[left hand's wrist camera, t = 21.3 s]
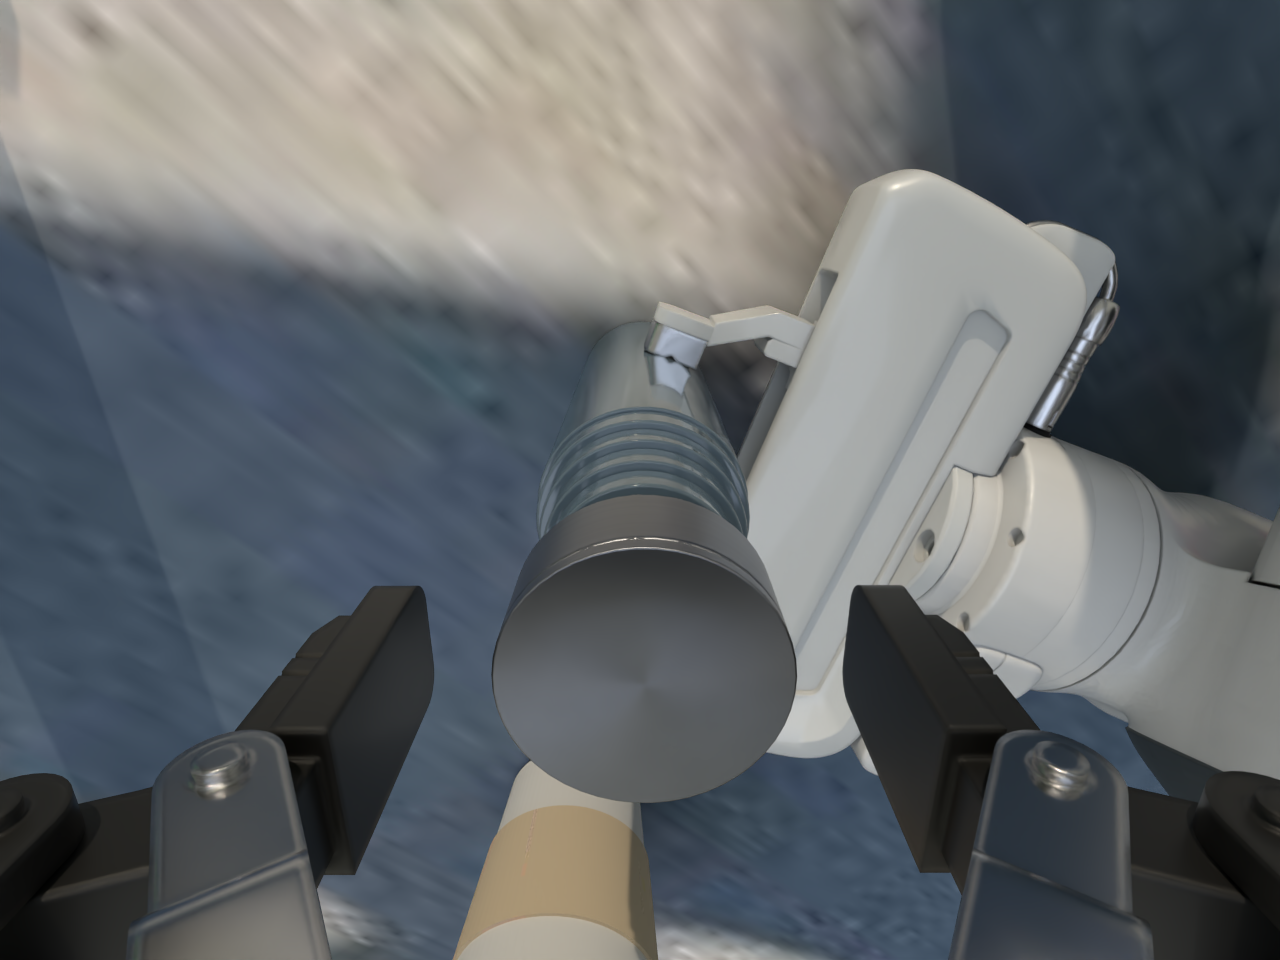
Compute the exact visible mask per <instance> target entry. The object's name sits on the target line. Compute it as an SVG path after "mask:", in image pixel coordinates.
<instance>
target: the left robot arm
mask: <svg viewBox="0 0 1280 960" xmlns="http://www.w3.org/2000/svg"><path fill="white" fill-rule="evenodd" d="M842 676H843V687H844V693H845V697H846V701H847V704H848V706H849V708H850V711H851V713H852V715H853V718H854V720H855V722H856V725H857V727H858V729H859V732H860V734H861V736H862V739H863V741H864V743H865V746H866V748H867V750H868V753H869V755H870V757H871V760H872V762H873V764H874V767H875V769H876V771H877V774H878V776H879V778H880V781H881V783H882V785H883V788H884V790H885V792H886V794H887V797H888V799H889V801H890V804H891V806H892V808H893V811H894V813H895V815H896V818H897V820H898V822H899V825H900V827H901V829H902V832H903V834H904V836H905V839H906V841H907V843H908V846H909V848H910V850H911V853H912V855H913V857H914V860H915V862H916V864H917V867H918V869H919V871H920V873H951V874H952V876H953V878H954V880H955V882H956V884H957V886H958V889H959V891H960V893H961V895H962V898H961V902H960V907H959V911H958V916H957V920H956V925H955V930H954V934H953V939H952V943H951V948H950V953H949V957H948V960H1280V780H1278V779H1275V778H1272V777H1269V776H1265V775H1261V774H1257V773H1251V772H1244V771H1225V772H1220V773H1217V774H1214V775H1213V776H1211V777H1210V778H1209V779H1208V780H1207V782H1206V784H1205V787H1204V790H1203V792H1202V795H1201V798H1200V801H1199V803H1198V802H1194V801H1189V800H1185V799H1180V798H1176V797H1171V796H1167V795H1162V794H1158V793H1153V792H1149V791H1145V790H1140V789H1136V788H1132V787H1128V786H1127V785H1126V783H1125V781H1124V779H1123V777H1122V776H1121V774H1120V773H1119V771H1118V770H1117V769H1116V768H1115V767H1114V766H1113V765H1112V764H1111V763H1110V762H1109V761H1108V760H1106V759H1105V758H1104V757H1103V756H1101V755H1100V754H1099V753H1097V752H1096V751H1094V750H1093V749H1091V748H1089V747H1087V746H1085V745H1084V744H1082V743H1079V742H1077V741H1075V740H1073V739H1070V738H1068V737H1065V736H1062V735H1059V734H1055V733H1051V732H1046V731H1041V730H1040V729H1039V728H1038V726H1037V725H1036V724H1035V723H1034V721H1033V720H1032V719H1031V718H1030V716H1029V715H1028V714H1027V712H1026V711H1025V710H1024V709H1023V707H1022V706H1021V705H1020V704H1019V702H1018V701H1017V700H1016V698H1015V697H1014V696H1013V695H1012V693H1011V692H1010V691H1009V690H1008V688H1007V687H1006V686H1005V684H1004V683H1003V682H1002V681H1001V679H1000V678H999V677H998V676H997V674H993V669H992V668H991V667H990V665H989V664H988V663H987V662H986V660H985V659H984V658H983V657H980V653H979V651H978V650H977V649H976V648H975V646H974V645H973V644H972V642H971V641H970V640H969V639H968V637H967V636H966V635H965V634H964V632H962V631H961V630H959V629H958V628H956V627H955V626H953V625H952V624H950V623H949V622H947V621H946V620H944V619H943V618H941V617H940V616H938V615H925V614H924V613H923V612H922V610H921V609H920V607H919V606H918V605H917V603H916V602H915V601H914V599H913V598H912V596H911V595H910V594H909V592H908V591H907V589H906V588H905V587H904V586H902V585H856V586H855V587H854V589H853V591H852V594H851V599H850V607H849V616H848V624H847V632H846V641H845V649H844V657H843V668H842ZM433 684H434V662H433V654H432V646H431V638H430V630H429V621H428V613H427V605H426V598H425V594H424V591H423V589H422V588H421V587H420V586H374V587H372V588H371V589H370V590H369V592H368V593H367V595H366V596H365V597H364V599H363V600H362V601H361V603H360V604H359V605H358V607H357V608H356V610H355V611H354V612H353V614H352V615H351V616H338V617H336V618H335V619H333V620H332V621H330V622H329V623H327V624H326V625H324V626H323V627H321V628H320V629H318V630H317V631H315V632H314V633H312V634H311V636H310V637H309V638H308V639H307V641H306V642H305V643H304V644H303V646H302V647H301V648H300V649H299V651H298V652H297V653H296V658H292V659H291V661H290V662H289V663H288V665H287V666H286V667H285V668H284V670H283V671H282V676H278V677H277V678H276V680H275V681H274V682H273V683H272V685H271V686H270V687H269V688H268V690H267V691H266V692H265V693H264V695H263V696H262V697H261V699H260V700H259V701H258V702H257V704H256V705H255V706H254V707H253V709H252V710H251V711H250V712H249V714H248V715H247V716H246V717H245V719H244V720H243V721H242V722H241V724H240V725H239V726H238V727H237V729H236V730H235V731H234V732H229V733H225V734H221V735H218V736H215V737H212V738H210V739H207V740H205V741H203V742H201V743H198V744H196V745H195V746H193V747H191V748H189V749H187V750H186V751H184V752H183V753H181V754H180V755H179V756H177V757H176V758H175V759H174V760H172V761H171V762H170V763H169V764H168V765H167V766H166V767H165V768H164V769H163V770H162V771H161V773H160V774H159V776H158V777H157V779H156V781H155V783H154V785H153V787H150V788H146V789H143V790H139V791H134V792H130V793H125V794H121V795H116V796H112V797H108V798H103V799H99V800H94V801H90V802H85V803H81V804H78V802H77V799H76V797H75V794H74V791H73V788H72V786H71V784H70V782H69V781H68V780H67V779H65V778H64V777H62V776H59V775H56V774H48V773H39V774H29V775H22V776H18V777H14V778H10V779H7V780H3V781H0V960H332V957H331V953H330V948H329V943H328V939H327V934H326V930H325V925H324V920H323V916H322V911H321V907H320V902H319V898H318V893H317V888H318V886H319V884H320V881H321V879H322V877H323V875H355V873H356V871H357V869H358V867H359V864H360V862H361V860H362V857H363V855H364V853H365V850H366V848H367V846H368V844H369V841H370V839H371V837H372V834H373V832H374V830H375V828H376V825H377V823H378V821H379V818H380V816H381V814H382V811H383V809H384V807H385V805H386V802H387V800H388V798H389V795H390V793H391V791H392V789H393V786H394V784H395V782H396V779H397V777H398V775H399V772H400V770H401V768H402V766H403V763H404V761H405V759H406V756H407V754H408V752H409V750H410V747H411V745H412V743H413V740H414V738H415V736H416V733H417V731H418V729H419V727H420V724H421V722H422V720H423V717H424V715H425V713H426V711H427V708H428V706H429V703H430V700H431V696H432V691H433Z"/></svg>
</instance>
